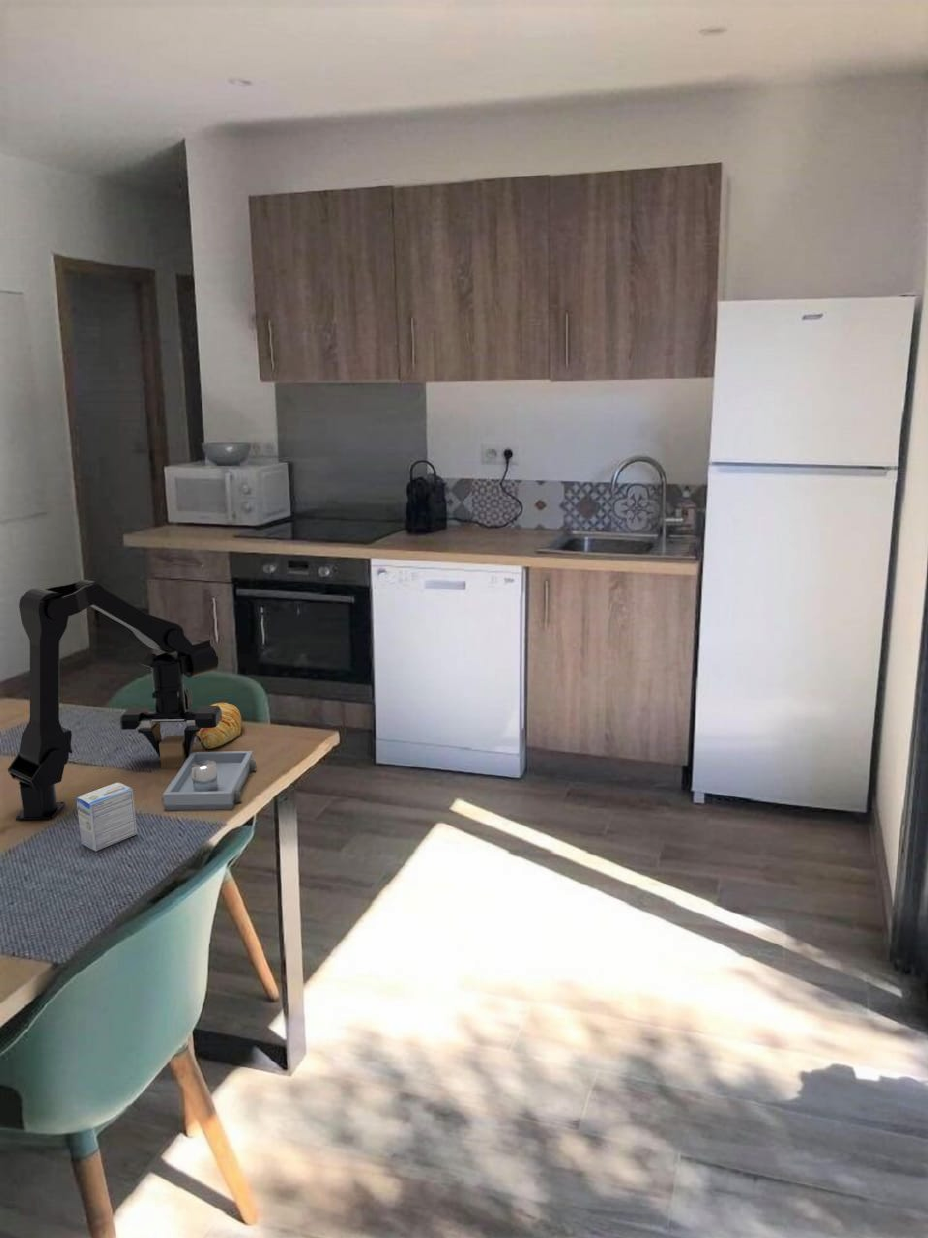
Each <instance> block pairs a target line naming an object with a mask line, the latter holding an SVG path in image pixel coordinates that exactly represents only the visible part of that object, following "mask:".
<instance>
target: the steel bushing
mask: <svg viewBox="0 0 928 1238" xmlns="http://www.w3.org/2000/svg"><path fill="white" fill-rule="evenodd" d="M191 768H192V779H193V789H194V792H217V791H218V779H217V767H216V762H214V761H210V760H205V761H199V762H196V763H194V764H192V766H191Z"/></svg>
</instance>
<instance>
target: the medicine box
mask: <svg viewBox="0 0 928 1238" xmlns="http://www.w3.org/2000/svg"><path fill="white" fill-rule="evenodd" d="M75 799H76V807H77V815H78V822H79V831H80V839H81V840H80V841H81V843H82V845H83V846H85V847H86V848H88V849H89V850H91V851H94V852H98V851H101V850H102V849H106V848H107V847H109V846H112V845H115V844H117V843H119V842H123V841H124V840H126V839H129V838H131V837H133V836H136V835H138V830H137V820H136V812H135V811H136V809H135V798H134V791H133V788H131V787H129V786H128V785H125V784H123V783H121V782H114V783H112V784H108V785H107V786H104V787H102V788H98V789H96V790H93V791H90V792H87V793H85V794H82V795H80V796H78V797H76V798H75Z"/></svg>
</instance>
